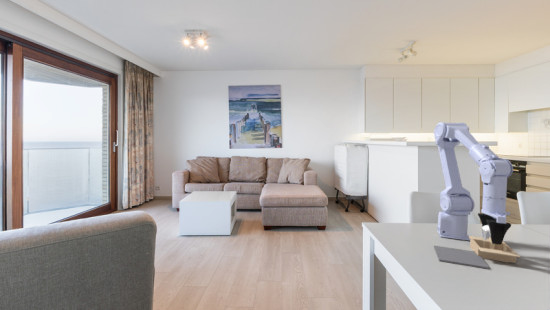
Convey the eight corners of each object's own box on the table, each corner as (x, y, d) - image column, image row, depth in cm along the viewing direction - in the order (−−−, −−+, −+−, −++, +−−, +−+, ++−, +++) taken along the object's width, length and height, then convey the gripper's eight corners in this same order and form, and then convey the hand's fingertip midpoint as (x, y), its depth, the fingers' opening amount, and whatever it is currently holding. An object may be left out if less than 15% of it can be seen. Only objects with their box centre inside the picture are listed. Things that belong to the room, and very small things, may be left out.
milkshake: (498, 259, 81) (499, 226, 80) (478, 252, 85) (479, 222, 85) (505, 256, 83) (506, 224, 82) (485, 250, 87) (486, 220, 87)
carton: (480, 260, 80) (480, 250, 79) (468, 244, 92) (468, 235, 92) (519, 266, 76) (520, 256, 76) (501, 248, 89) (501, 240, 88)
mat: (439, 260, 79) (439, 259, 79) (433, 246, 90) (433, 245, 90) (489, 269, 74) (489, 267, 74) (477, 253, 85) (477, 251, 85)
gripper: (520, 203, 75) (518, 250, 76) (501, 194, 88) (500, 234, 89) (489, 200, 78) (487, 246, 78) (475, 192, 91) (474, 231, 92)
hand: (492, 239), depth 84 cm, fingers open, 7 cm apart
